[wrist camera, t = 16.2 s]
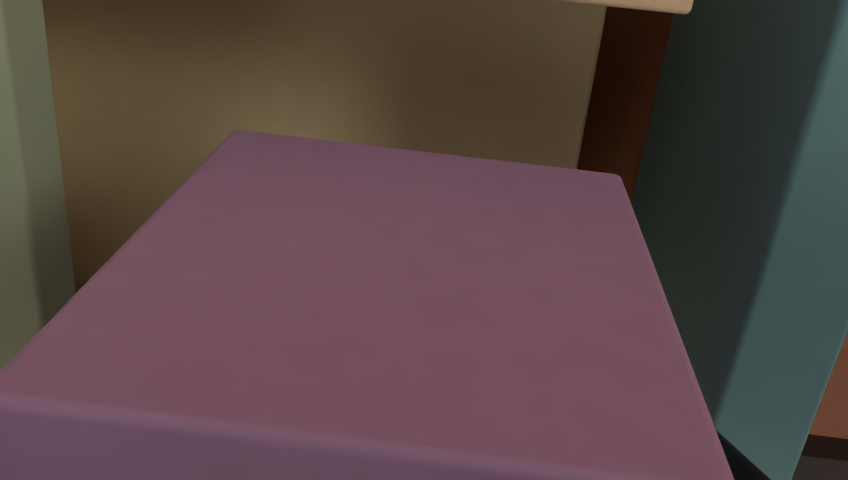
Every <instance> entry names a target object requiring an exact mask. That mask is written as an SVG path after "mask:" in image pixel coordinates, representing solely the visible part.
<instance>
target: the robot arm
mask: <svg viewBox="0 0 848 480" xmlns="http://www.w3.org/2000/svg"><path fill="white" fill-rule="evenodd" d="M716 432H717V435H718V437H719V440H720V443H721V445H722V448H723V451H724V453H725V456H726V459H727V461H728V464H729V467H730V469H731V472H732V475H733V477H734V480H771V479H770V478H769V477H768V476H767V475H765V474H764V473H763V472H762V471H761V470H760V469H759V468H758V467H757V466H756V465H754V464H753V463H752V462H751V461H750V460H749V459H748V458H747V457H746V456H745V455H743V454H742V453H741V452H740V451H739V450H738V449H737V448H736V447H735V446H734V445H732V444H731V443H730V442H729V441H728V440H727V439H726V438H725V437H724V436H723V435H721V434H720V433H719V432H718V431H717V430H716Z"/></svg>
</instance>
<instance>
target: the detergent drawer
mask: <svg viewBox="0 0 848 480" xmlns="http://www.w3.org/2000/svg"><path fill="white" fill-rule="evenodd" d="M42 2H43V10H44V19H45V28H46V37H47V46H48V54H49V63H50V72H51V81H52V89H53V98H54V107H55V116H56V125H57V133H58V142H59V151H60V160H61V169H62V177H63V186H64V195H65V204H66V212H67V221H68V230H69V239H70V248H71V256H72V265H73V274H74V283H75V292H76V293H77V292H78V291H79V290H80V289H81V288H82V287H83V286H84V285H85V284H86V283H87V282H88V281H89V280H90V278H91V277H92V276H93V275H94V274H95V273H96V272H97V271H98V270H99V269H100V268H101V267H102V266H103V265H104V264H105V263H106V262H107V261H108V260H109V259H110V258H111V257H112V256H113V255H114V254H115V253H116V252H117V250H118V249H119V248H120V247H121V246H122V245H123V244H124V243H125V242H126V241H127V240H128V239H129V238H130V237H131V236H132V235H133V234H134V233H135V232H136V231H137V230H138V229H139V228H140V227H141V226H142V225H143V223H144V222H145V221H146V220H147V219H148V218H149V217H150V216H151V215H152V214H153V213H154V212H155V211H156V210H157V209H158V208H159V207H160V206H161V205H162V204H163V203H164V202H165V201H166V200H167V199H168V198H169V197H170V195H171V194H172V193H173V192H174V191H175V190H176V189H177V188H178V187H179V186H180V185H181V184H182V183H183V182H184V181H185V180H186V179H187V178H188V177H189V176H190V175H191V174H192V173H193V172H194V171H195V170H196V169H197V167H198V166H199V165H200V164H201V163H202V162H203V161H204V160H205V159H206V158H207V157H208V156H209V155H210V154H211V153H212V152H213V151H214V150H215V149H216V148H217V147H218V146H219V145H220V144H221V143H222V142H223V141H224V139H225V138H226V137H227V136H228V135H229V134H230V133H231V132H232V131H236V130H243V131H251V132H260V133H268V134H277V135H286V136H294V137H303V138H311V139H320V140H328V141H337V142H346V143H354V144H363V145H371V146H380V147H388V148H397V149H406V150H414V151H423V152H431V153H440V154H448V155H457V156H466V157H474V158H483V159H491V160H500V161H508V162H517V163H526V164H534V165H543V166H551V167H560V168H568V169H577V167H578V161H579V156H580V150H581V145H582V140H583V134H584V129H585V124H586V118H587V113H588V107H589V102H590V97H591V91H592V86H593V81H594V75H595V70H596V64H597V59H598V54H599V48H600V43H601V37H602V32H603V27H604V21H605V16H606V11H607V6H609V7H619V8H628V9H637V10H647V11H656V12H665V13H673V18H672V22H671V27H670V31H669V36H668V40H667V45H666V49H665V54H664V58H663V63H662V67H661V72H660V76H659V81H658V85H657V90H656V94H655V99H654V103H653V108H652V112H651V117H650V121H649V126H648V130H647V135H646V139H645V144H644V148H643V153H642V157H641V162H640V166H639V171H638V175H637V180H636V184H635V189H634V193H633V198H632V202H631V205H632V208H633V210H634V213H635V216H636V218H637V221H638V224H639V226H640V229H641V232H642V234H643V237H644V240H645V242H646V245H647V248H648V250H649V253H650V256H651V258H652V261H653V264H654V267H655V269H656V272H657V275H658V277H659V280H660V283H661V285H662V288H663V291H664V293H665V296H666V299H667V301H668V304H669V307H670V309H671V312H672V315H673V317H674V320H675V323H676V325H677V328H678V331H679V333H680V336H681V339H682V341H683V344H684V347H685V349H686V352H687V355H688V357H689V360H690V363H691V365H692V368H693V371H694V373H695V376H696V379H697V381H698V384H699V387H700V389H701V392H702V395H703V397H704V400H705V403H706V405H707V408H708V411H709V413H710V416H711V419H712V421H713V424H714V427H715V429H716V430H717V431H718V432H719V433H720V434H721V435H723V436H724V437H725V438H726V439H727V440H728V441H729V442H730V443H731V444H732V445H734V446H735V447H736V448H737V449H738V450H739V451H740V452H741V453H742V454H743V455H745V456H746V457H747V458H748V459H749V460H750V461H751V462H752V463H753V464H754V465H756V466H757V467H758V468H759V469H760V470H761V471H762V472H763V473H764V474H765V475H767V476H768V477H769V478H770V479H771V480H848V439H842V438H834V437H826V436H818V435H810V434H809V432H810V429H811V426H812V424H813V421H814V419H815V416H816V413H817V411H818V408H819V405H820V403H821V400H822V397H823V395H824V392H825V390H826V387H827V384H828V382H829V379H830V376H831V374H832V371H833V368H834V366H835V363H836V360H837V358H838V355H839V353H840V350H841V347H842V345H843V342H844V339H845V337H846V334H847V331H848V0H42Z"/></svg>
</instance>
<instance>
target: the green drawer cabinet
mask: <svg viewBox="0 0 848 480" xmlns="http://www.w3.org/2000/svg"><path fill="white" fill-rule="evenodd" d="M75 294H76V292H75V283H74V274H73V265H72V256H71V248H70V239H69V230H68V221H67V212H66V204H65V195H64V186H63V177H62V169H61V160H60V151H59V142H58V133H57V125H56V116H55V107H54V98H53V89H52V81H51V72H50V63H49V54H48V46H47V37H46V28H45V19H44V10H43V2H42V0H0V372H1V371H2V370H3V369H4V368H5V367H6V366H7V365H8V364H9V363H10V361H11V360H12V359H13V358H14V357H15V356H16V355H17V354H18V353H19V352H20V351H21V350H22V349H23V348H24V347H25V346H26V345H27V344H28V343H29V342H30V341H31V340H32V339H33V338H34V337H35V336H36V335H37V333H38V332H39V331H40V330H41V329H42V328H43V327H44V326H45V325H46V324H47V323H48V322H49V321H50V320H51V319H52V318H53V317H54V316H55V315H56V314H57V313H58V312H59V311H60V310H61V309H62V308H63V306H64V305H65V304H66V303H67V302H68V301H69V300H70V299H71V298H72V297H73V296H74V295H75Z"/></svg>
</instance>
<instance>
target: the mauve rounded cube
mask: <svg viewBox="0 0 848 480" xmlns="http://www.w3.org/2000/svg"><path fill="white" fill-rule="evenodd" d="M0 480H734V477H733V475H732V472H731V469H730V467H729V464H728V461H727V459H726V456H725V453H724V451H723V448H722V445H721V443H720V440H719V437H718V435H717V432H716V429H715V427H714V424H713V421H712V419H711V416H710V413H709V411H708V408H707V405H706V403H705V400H704V397H703V395H702V392H701V389H700V387H699V384H698V381H697V379H696V376H695V373H694V371H693V368H692V365H691V363H690V360H689V357H688V355H687V352H686V349H685V347H684V344H683V341H682V339H681V336H680V333H679V331H678V328H677V325H676V323H675V320H674V317H673V315H672V312H671V309H670V307H669V304H668V301H667V299H666V296H665V293H664V291H663V288H662V285H661V283H660V280H659V277H658V275H657V272H656V269H655V267H654V264H653V261H652V258H651V256H650V253H649V250H648V248H647V245H646V242H645V240H644V237H643V234H642V232H641V229H640V226H639V224H638V221H637V218H636V216H635V213H634V210H633V208H632V205H631V202H630V200H629V197H628V194H627V192H626V189H625V186H624V184H623V181H622V178H621V177H620V176H618V175H616V174H611V173H603V172H594V171H585V170H577V169H568V168H560V167H551V166H543V165H534V164H526V163H517V162H508V161H500V160H491V159H483V158H474V157H466V156H457V155H448V154H440V153H431V152H423V151H414V150H406V149H397V148H388V147H380V146H371V145H363V144H354V143H346V142H337V141H328V140H320V139H311V138H303V137H294V136H286V135H277V134H268V133H260V132H251V131H243V130H236V131H232V132H231V133H230V134H229V135H228V136H227V137H226V138H225V139H224V141H223V142H222V143H221V144H220V145H219V146H218V147H217V148H216V149H215V150H214V151H213V152H212V153H211V154H210V155H209V156H208V157H207V158H206V159H205V160H204V161H203V162H202V163H201V164H200V165H199V166H198V167H197V169H196V170H195V171H194V172H193V173H192V174H191V175H190V176H189V177H188V178H187V179H186V180H185V181H184V182H183V183H182V184H181V185H180V186H179V187H178V188H177V189H176V190H175V191H174V192H173V193H172V194H171V195H170V197H169V198H168V199H167V200H166V201H165V202H164V203H163V204H162V205H161V206H160V207H159V208H158V209H157V210H156V211H155V212H154V213H153V214H152V215H151V216H150V217H149V218H148V219H147V220H146V221H145V222H144V223H143V225H142V226H141V227H140V228H139V229H138V230H137V231H136V232H135V233H134V234H133V235H132V236H131V237H130V238H129V239H128V240H127V241H126V242H125V243H124V244H123V245H122V246H121V247H120V248H119V249H118V250H117V252H116V253H115V254H114V255H113V256H112V257H111V258H110V259H109V260H108V261H107V262H106V263H105V264H104V265H103V266H102V267H101V268H100V269H99V270H98V271H97V272H96V273H95V274H94V275H93V276H92V277H91V278H90V280H89V281H88V282H87V283H86V284H85V285H84V286H83V287H82V288H81V289H80V290H79V291H78V292H77V293H76V294H75V295H74V296H73V297H72V298H71V299H70V300H69V301H68V302H67V303H66V304H65V305H64V306H63V308H62V309H61V310H60V311H59V312H58V313H57V314H56V315H55V316H54V317H53V318H52V319H51V320H50V321H49V322H48V323H47V324H46V325H45V326H44V327H43V328H42V329H41V330H40V331H39V332H38V333H37V335H36V336H35V337H34V338H33V339H32V340H31V341H30V342H29V343H28V344H27V345H26V346H25V347H24V348H23V349H22V350H21V351H20V352H19V353H18V354H17V355H16V356H15V357H14V358H13V359H12V360H11V361H10V363H9V364H8V365H7V366H6V367H5V368H4V369H3V370H2V371H1V372H0Z"/></svg>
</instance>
